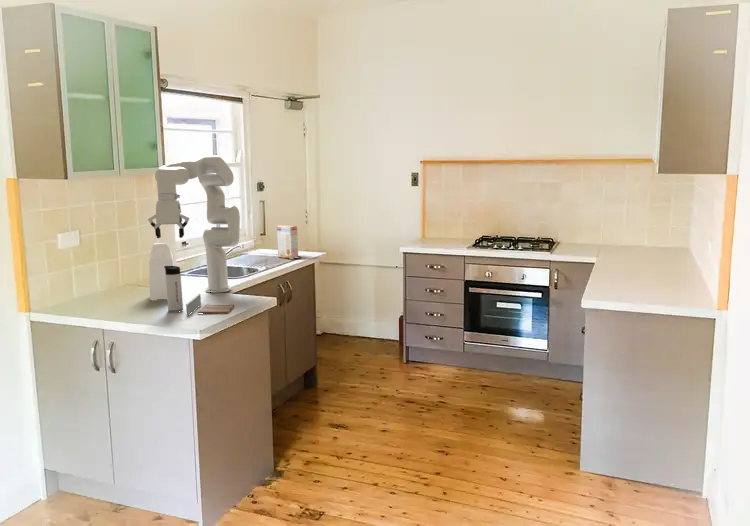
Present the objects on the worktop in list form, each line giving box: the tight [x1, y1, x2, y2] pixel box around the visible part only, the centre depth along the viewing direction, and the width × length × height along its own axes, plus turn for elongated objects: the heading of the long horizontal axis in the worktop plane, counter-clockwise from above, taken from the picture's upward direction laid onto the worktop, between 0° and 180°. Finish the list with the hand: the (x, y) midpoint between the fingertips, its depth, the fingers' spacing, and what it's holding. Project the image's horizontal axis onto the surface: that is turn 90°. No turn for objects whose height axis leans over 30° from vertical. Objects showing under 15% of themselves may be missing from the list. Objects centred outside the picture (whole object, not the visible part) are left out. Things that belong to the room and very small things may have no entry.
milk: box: [148, 242, 175, 301], centre depth 319 cm, size 12×12×26 cm
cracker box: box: [276, 224, 299, 259], centre depth 427 cm, size 14×6×21 cm, turn 44°
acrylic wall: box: [185, 293, 202, 316], centre depth 293 cm, size 20×1×5 cm, turn 0°
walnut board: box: [197, 303, 235, 315], centre depth 293 cm, size 13×13×1 cm
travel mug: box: [164, 265, 184, 313], centre depth 291 cm, size 6×7×20 cm
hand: (170, 237), depth 287 cm, fingers open, 9 cm apart
